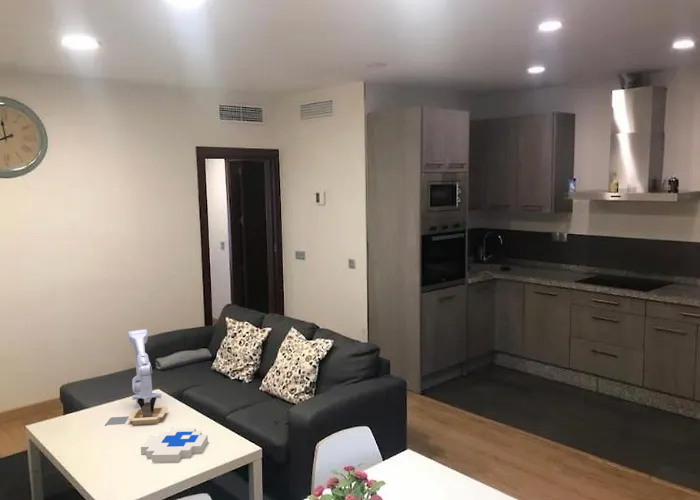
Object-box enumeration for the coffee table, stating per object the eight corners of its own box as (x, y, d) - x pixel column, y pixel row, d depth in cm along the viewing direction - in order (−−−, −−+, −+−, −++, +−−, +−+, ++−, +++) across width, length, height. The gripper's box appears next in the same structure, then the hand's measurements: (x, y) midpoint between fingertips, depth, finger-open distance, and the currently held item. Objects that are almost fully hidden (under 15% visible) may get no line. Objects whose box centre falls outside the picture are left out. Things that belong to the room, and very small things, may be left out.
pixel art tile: (155, 428, 291) (211, 427, 290) (156, 436, 291) (212, 435, 291) (134, 455, 263) (195, 454, 262) (134, 463, 264) (196, 462, 263)
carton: (135, 413, 320) (135, 407, 319) (169, 411, 321) (168, 405, 321) (126, 427, 302) (125, 420, 301) (162, 425, 304) (161, 418, 303)
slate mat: (110, 418, 315) (110, 417, 314) (129, 416, 315) (129, 416, 315) (104, 425, 305) (104, 425, 305) (124, 424, 306) (124, 423, 306)
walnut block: (146, 412, 315) (145, 402, 314) (153, 412, 315) (152, 401, 314) (142, 418, 308) (141, 407, 307) (150, 417, 308) (149, 406, 307)
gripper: (130, 390, 305) (131, 415, 306) (158, 388, 306) (160, 413, 308) (133, 385, 312) (135, 410, 313) (161, 384, 313) (163, 408, 315)
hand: (148, 411), depth 311 cm, fingers closed on walnut block, 4 cm apart
